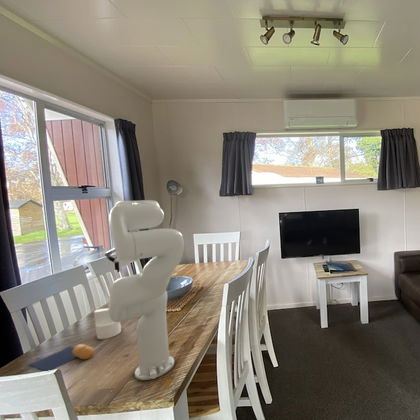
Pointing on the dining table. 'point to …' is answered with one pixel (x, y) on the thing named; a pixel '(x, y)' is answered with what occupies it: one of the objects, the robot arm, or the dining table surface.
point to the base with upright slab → (105, 324)
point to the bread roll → (83, 351)
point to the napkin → (55, 360)
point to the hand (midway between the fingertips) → (132, 268)
